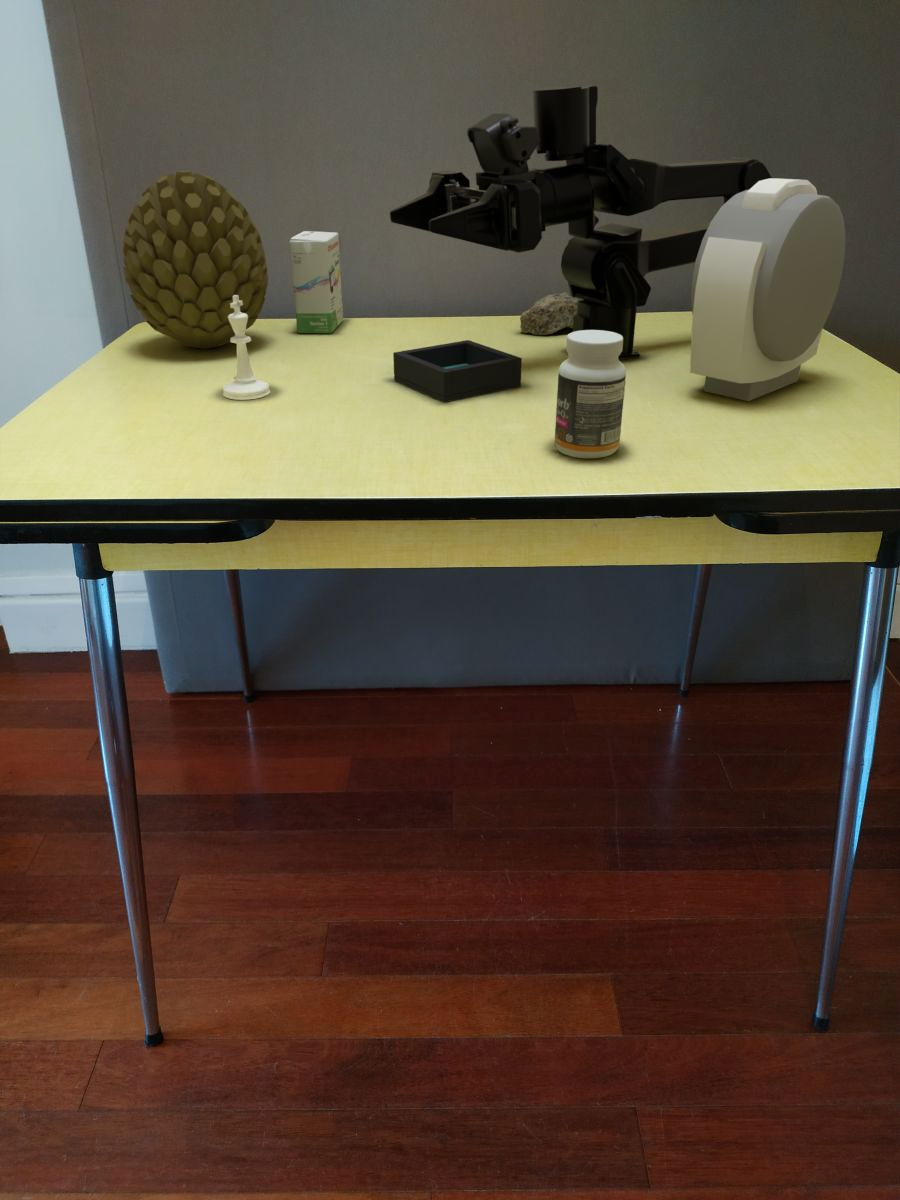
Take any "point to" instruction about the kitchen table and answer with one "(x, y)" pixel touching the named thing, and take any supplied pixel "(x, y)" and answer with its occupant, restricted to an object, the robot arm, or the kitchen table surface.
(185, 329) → the decorative object
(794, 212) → the alarm clock
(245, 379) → the chess piece
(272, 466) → the kitchen table surface
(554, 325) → the rock
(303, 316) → the ink box
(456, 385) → the socket pad
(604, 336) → the pill bottle
